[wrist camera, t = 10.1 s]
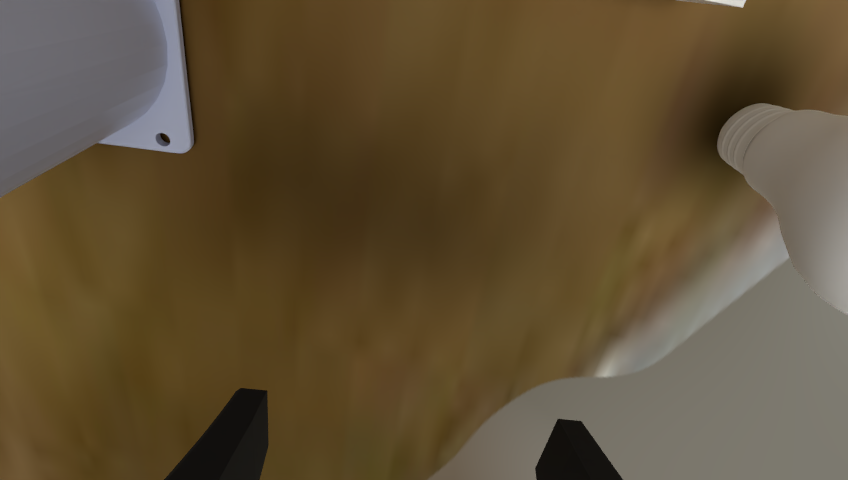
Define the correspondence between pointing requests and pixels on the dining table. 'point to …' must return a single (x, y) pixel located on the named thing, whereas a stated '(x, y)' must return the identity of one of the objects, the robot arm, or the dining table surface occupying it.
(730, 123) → the lightbulb
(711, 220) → the dining table surface
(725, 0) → the power strip
